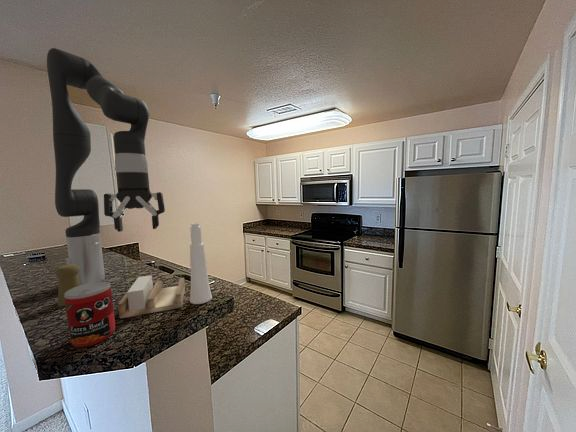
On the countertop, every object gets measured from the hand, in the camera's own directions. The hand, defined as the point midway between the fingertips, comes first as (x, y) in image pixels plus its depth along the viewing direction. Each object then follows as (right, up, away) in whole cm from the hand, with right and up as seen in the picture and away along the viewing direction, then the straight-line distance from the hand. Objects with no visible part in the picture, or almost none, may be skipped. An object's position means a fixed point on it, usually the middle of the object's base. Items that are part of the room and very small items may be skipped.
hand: (137, 229), depth 69 cm
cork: (-21, -22, +3) cm, 30 cm away
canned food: (0, -23, -16) cm, 27 cm away
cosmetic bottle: (+17, -20, +1) cm, 27 cm away
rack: (+5, -20, +1) cm, 21 cm away
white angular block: (+2, -20, -1) cm, 20 cm away
